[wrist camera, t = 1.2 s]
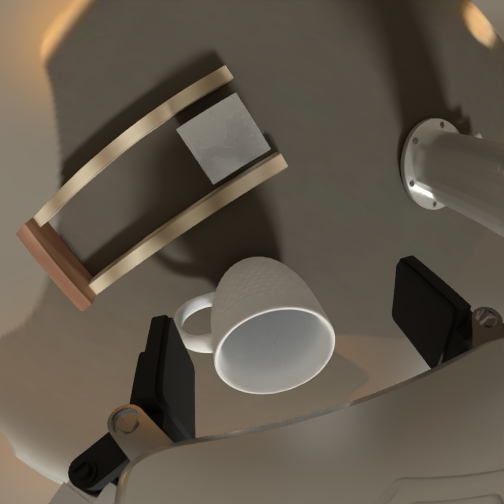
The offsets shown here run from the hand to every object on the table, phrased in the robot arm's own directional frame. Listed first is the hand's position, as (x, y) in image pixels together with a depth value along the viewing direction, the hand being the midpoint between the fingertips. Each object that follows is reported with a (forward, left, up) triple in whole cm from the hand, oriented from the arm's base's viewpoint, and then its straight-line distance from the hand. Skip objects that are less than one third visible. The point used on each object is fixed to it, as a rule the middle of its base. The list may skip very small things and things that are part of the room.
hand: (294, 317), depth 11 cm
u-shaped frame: (+8, -6, -22) cm, 24 cm away
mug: (+5, +10, -22) cm, 25 cm away
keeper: (-2, -6, -22) cm, 23 cm away
